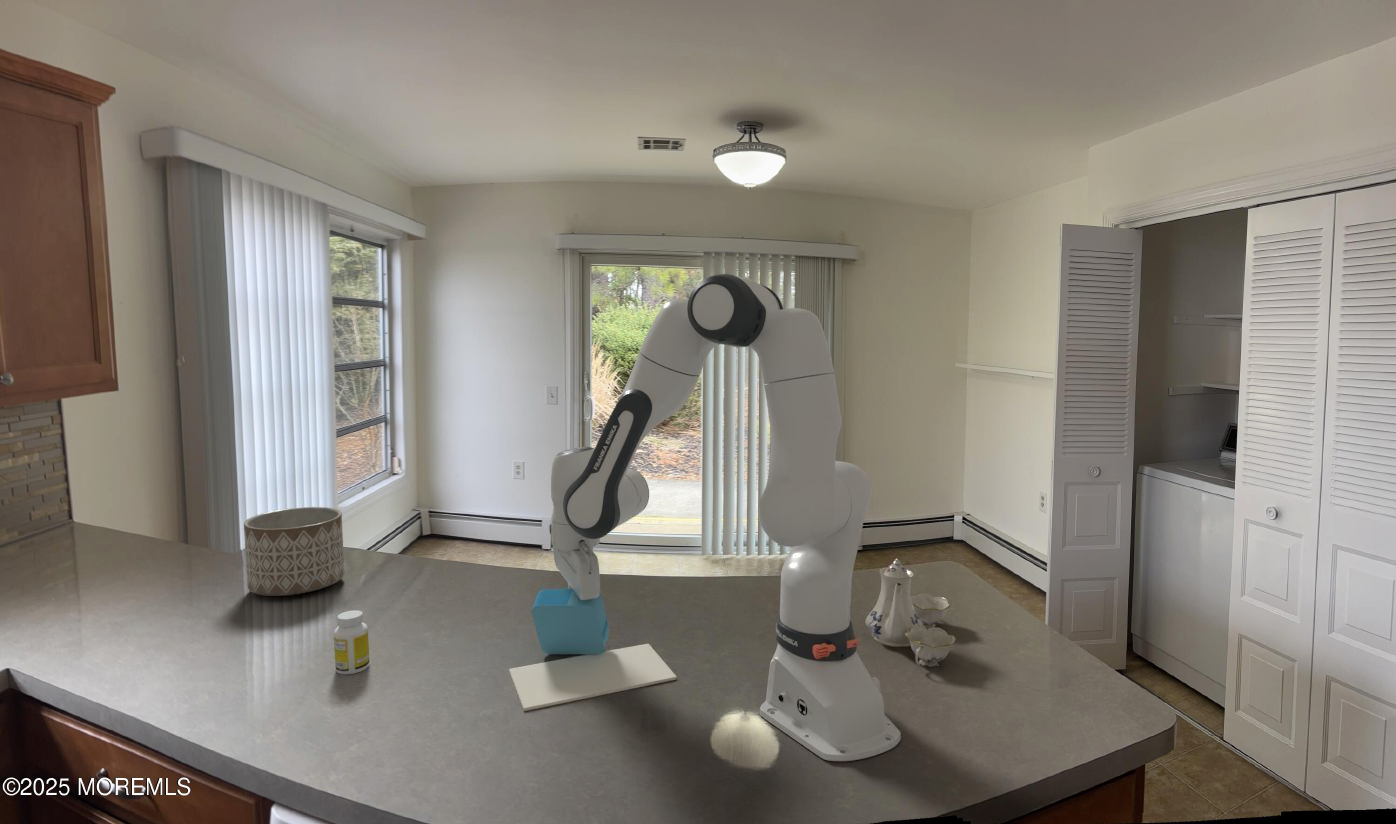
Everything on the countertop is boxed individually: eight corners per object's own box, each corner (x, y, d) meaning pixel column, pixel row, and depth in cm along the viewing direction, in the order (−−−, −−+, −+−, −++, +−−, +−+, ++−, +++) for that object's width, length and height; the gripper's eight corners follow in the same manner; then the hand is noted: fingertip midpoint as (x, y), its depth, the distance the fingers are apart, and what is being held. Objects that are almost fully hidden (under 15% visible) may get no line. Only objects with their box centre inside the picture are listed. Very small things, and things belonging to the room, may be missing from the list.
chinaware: (962, 687, 122) (978, 597, 119) (865, 667, 125) (879, 579, 123) (940, 623, 149) (953, 549, 147) (861, 608, 152) (873, 535, 150)
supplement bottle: (370, 658, 126) (368, 606, 125) (368, 672, 121) (366, 618, 120) (337, 663, 124) (334, 610, 123) (333, 677, 119) (330, 622, 118)
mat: (676, 679, 120) (676, 676, 120) (523, 711, 109) (523, 708, 109) (648, 646, 132) (648, 643, 132) (509, 671, 122) (509, 668, 122)
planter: (262, 576, 167) (258, 509, 165) (351, 569, 172) (348, 504, 171) (235, 607, 148) (231, 532, 147) (336, 597, 154) (332, 525, 152)
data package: (610, 636, 131) (600, 588, 125) (606, 655, 127) (595, 606, 121) (549, 636, 132) (536, 588, 126) (542, 654, 128) (529, 606, 123)
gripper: (608, 547, 120) (609, 624, 122) (578, 519, 139) (579, 585, 140) (572, 552, 118) (573, 630, 119) (547, 522, 136) (548, 590, 138)
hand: (576, 606), depth 130 cm, fingers closed
